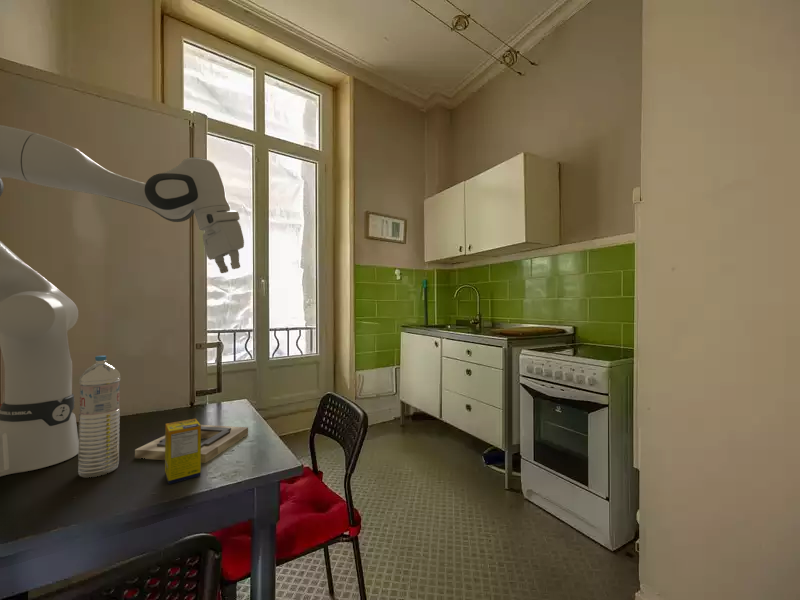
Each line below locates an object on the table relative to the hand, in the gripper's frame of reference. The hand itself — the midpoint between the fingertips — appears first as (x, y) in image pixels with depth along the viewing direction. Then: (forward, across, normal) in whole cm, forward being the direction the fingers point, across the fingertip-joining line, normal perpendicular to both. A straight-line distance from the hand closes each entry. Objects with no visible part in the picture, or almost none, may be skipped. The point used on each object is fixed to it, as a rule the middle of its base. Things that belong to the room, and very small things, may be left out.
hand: (230, 270), depth 98 cm
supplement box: (+41, +13, -26) cm, 51 cm away
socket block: (+42, -3, -20) cm, 46 cm away
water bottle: (+37, -1, -38) cm, 53 cm away
